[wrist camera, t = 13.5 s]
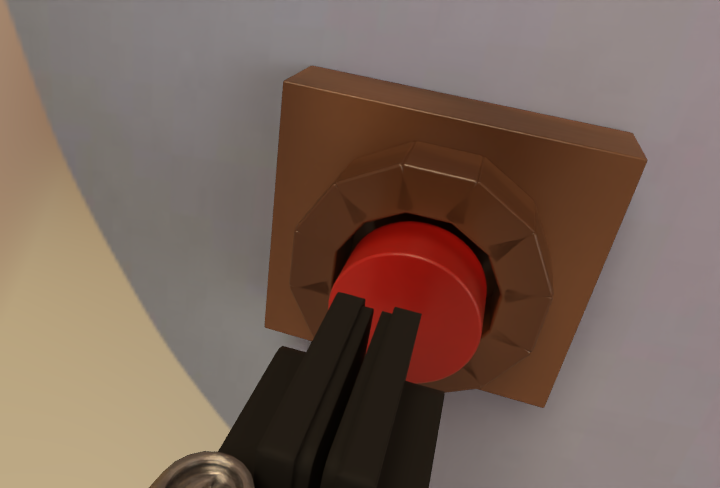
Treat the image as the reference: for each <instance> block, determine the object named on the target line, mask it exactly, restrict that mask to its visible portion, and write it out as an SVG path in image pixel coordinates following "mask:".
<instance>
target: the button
mask: <svg viewBox="0 0 720 488" xmlns="http://www.w3.org/2000/svg"><path fill="white" fill-rule="evenodd" d="M338 292H342V293H346V294H349V295H353V296H357V297H361V298H364V299H365V306H366V307H369V308H373V309H374V313H373V319H372V324H371V329H370V335H369V340H368V345H367V350H368V347H369V344H370V342H371V339H372V336H373V334H374V331H375V328H376V326H377V323H378V320H379V318H380V315H381V312H382V311H384V312H388V313H392V312H393V310H394V307H398V308H402V309H406V310H410V311H414V312H417V313H421V314H422V315H421V320H420V324H419V328H418V332H417V336H416V340H415V344H414V348H413V352H412V357H411V361H410V365H409V369H408V373H407V377H406V381H408V382H412V383H416V384H418V383H428V382H434V381H438V380H441V379H444V378H446V377H448V376H450V375H452V374H454V373H456V372H457V371H459V370H460V369H461V368H462V367H463V366H465V365H466V364H467V363H468V362H469V360H470V359H471V358H472V357H473V355H474V354H475V352H476V350H477V348H478V346H479V343H480V340H481V335H482V328H483V320H484V312H485V304H486V295H487V284H486V278H485V274H484V270H483V268H482V266H481V263H480V262H479V260H478V258H477V256H476V255H475V254H474V252H473V251H472V250H471V249H470V247H469V246H468V245H466V244H465V243H464V242H463V241H462V240H461V239H460V238H458V237H457V236H456V235H454V234H452V233H451V232H449V231H447V230H445V229H443V228H441V227H439V226H435V225H432V224H429V223H424V222H416V221H402V222H395V223H390V224H387V225H384V226H381V227H379V228H377V229H375V230H373V231H372V232H370V233H369V234H367V235H366V236H365V237H364V238H363V239H362V240H361V241H360V242H359V243H358V244H357V245H356V247H355V248H354V250H353V252H352V253H351V255H350V257H349V259H348V260H347V262H346V264H345V266H344V267H343V269H342V271H341V272H340V274H339V276H338V278H337V279H336V281H335V283H334V285H333V287H332V290H331V292H330V296H329V301H328V309H329V308H330V306H331V304H332V302H333V300H334V298H335V296H336V294H337V293H338ZM367 350H366V352H367Z"/></svg>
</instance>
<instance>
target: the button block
mask: <svg viewBox="0 0 720 488" xmlns="http://www.w3.org/2000/svg"><path fill="white" fill-rule="evenodd" d="M646 163H647V158H646V156H645V154H644V153H643V151H642V149H641V147H640V145H639V144H638V142H637V140H636V138H635V136H634V134H633V133H630V132H625V131H620V130H616V129H611V128H606V127H601V126H597V125H592V124H587V123H582V122H578V121H573V120H568V119H563V118H559V117H554V116H549V115H544V114H540V113H535V112H530V111H525V110H521V109H516V108H511V107H506V106H502V105H497V104H492V103H487V102H483V101H478V100H473V99H468V98H464V97H459V96H454V95H449V94H445V93H440V92H435V91H430V90H426V89H421V88H416V87H411V86H407V85H402V84H397V83H392V82H388V81H383V80H378V79H373V78H369V77H364V76H359V75H354V74H350V73H345V72H340V71H335V70H331V69H326V68H321V67H316V66H310V67H308V68H306V69H304V70H302V71H301V72H299V73H297V74H295V75H293V76H292V77H290V78H288V79H286V80H284V82H283V92H282V105H281V118H280V131H279V144H278V157H277V170H276V183H275V196H274V209H273V223H272V236H271V249H270V262H269V275H268V288H267V301H266V314H265V328H269V329H272V330H275V331H279V332H282V333H286V334H289V335H293V336H296V337H300V338H303V339H307V340H310V341H312V340H313V338H314V337H315V335H316V333H317V331H318V329H319V327H320V325H321V323H322V321H323V319H324V317H325V315H326V313H327V311H328V301H329V296H330V292H331V290H332V287H333V285H334V283H335V281H336V279H337V278H338V276H339V274H340V272H341V271H342V269H343V267H344V266H345V264H346V262H347V260H348V259H349V257H350V255H351V253H352V252H353V250H354V248H355V247H356V245H357V244H358V243H359V242H360V241H361V240H362V239H363V238H364V237H365V236H366V235H367V234H369V233H370V232H372V231H373V230H375V229H377V228H379V227H381V226H384V225H387V224H390V223H395V222H402V221H416V222H424V223H429V224H432V225H435V226H439V227H441V228H443V229H445V230H447V231H449V232H451V233H452V234H454V235H456V236H457V237H458V238H460V239H461V240H462V241H463V242H464V243H465V244H466V245H468V246H469V247H470V249H471V250H472V251H473V252H474V254H475V255H476V256H477V258H478V260H479V262H480V263H481V266H482V268H483V270H484V274H485V278H486V284H487V295H486V304H485V312H484V320H483V328H482V335H481V340H480V343H479V346H478V348H477V350H476V352H475V354H474V355H473V357H472V358H471V359H470V360H469V362H468V363H467V364H466V365H465V366H463V367H462V368H461V369H460V370H459V371H457V372H456V373H454V374H452V375H450V376H448V377H446V378H444V379H441V380H438V381H434V382H428V383H418V384H419V385H423V386H426V387H430V388H433V389H437V390H440V391H444V393H445V392H453V391H461V390H469V389H479V390H483V391H486V392H490V393H493V394H497V395H500V396H504V397H507V398H510V399H514V400H517V401H521V402H524V403H528V404H531V405H535V406H538V407H542V408H544V407H545V404H546V402H547V399H548V397H549V395H550V392H551V390H552V388H553V385H554V383H555V380H556V378H557V376H558V373H559V371H560V368H561V366H562V364H563V361H564V359H565V356H566V354H567V352H568V349H569V347H570V345H571V342H572V340H573V337H574V335H575V333H576V330H577V328H578V325H579V323H580V321H581V318H582V316H583V313H584V311H585V309H586V306H587V304H588V301H589V299H590V297H591V294H592V292H593V290H594V287H595V285H596V282H597V280H598V278H599V275H600V273H601V270H602V268H603V266H604V263H605V261H606V258H607V256H608V254H609V251H610V249H611V247H612V244H613V242H614V239H615V237H616V235H617V232H618V230H619V227H620V225H621V223H622V220H623V218H624V215H625V213H626V211H627V208H628V206H629V204H630V201H631V199H632V196H633V194H634V192H635V189H636V187H637V184H638V182H639V180H640V177H641V175H642V172H643V170H644V168H645V165H646ZM415 384H416V383H415Z"/></svg>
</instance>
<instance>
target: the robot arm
mask: <svg viewBox="0 0 720 488" xmlns="http://www.w3.org/2000/svg"><path fill="white" fill-rule="evenodd" d="M373 313H374V309H373V308H369V307H366V306H365V299H364V298H361V297H357V296H353V295H349V294H346V293H342V292H338V293H337V294H336V296H335V298H334V300H333V302H332V304H331V306H330V308H329V309H328V311H327V313H326V315H325V317H324V319H323V321H322V323H321V325H320V327H319V329H318V331H317V333H316V335H315V337H314V338H313V340H312V342H311V344H310V346H309V348H308V350H307V352H302V351H299V350H295V349H292V348H288V347H285V346H282V347H280V348H279V350H278V351H277V352H276V354H275V356H274V357H273V359H272V361H271V362H270V364H269V366H268V368H267V369H266V371H265V373H264V374H263V376H262V378H261V380H260V381H259V383H258V385H257V386H256V388H255V390H254V391H253V393H252V395H251V397H250V398H249V400H248V402H247V403H246V405H245V407H244V408H243V410H242V412H241V414H240V415H239V417H238V419H237V420H236V422H235V424H234V425H233V427H232V429H231V431H230V432H229V434H228V436H227V437H226V439H225V441H224V443H223V444H222V446H221V448H220V449H219V451H218V452H209V451H207V452H206V451H203V452H199V453H194V454H190V455H187V456H185V457H183V458H181V459H179V460H177V461H175V462H174V463H173V464H172V465H170V466H169V467H168V468H167V469H166V470H165V471H163V473H162V474H161V475H160V476H159V477H158V478H157V479H156V480H155V481H154V483H153V484H152V485H151V486H150V487H149V488H429V483H430V477H431V471H432V465H433V459H434V453H435V447H436V441H437V436H438V430H439V424H440V418H441V412H442V406H443V400H444V391H440V390H437V389H433V388H430V387H426V386H423V385H419V384H415V383H412V382H408V381H406V377H407V373H408V369H409V365H410V361H411V357H412V352H413V348H414V344H415V340H416V336H417V332H418V328H419V324H420V320H421V315H422V314H421V313H417V312H414V311H410V310H406V309H402V308H398V307H394V310H393V312H392V313H388V312H384V311H382V312H381V315H380V318H379V320H378V323H377V326H376V328H375V331H374V334H373V336H372V339H371V342H370V344H369V347H368V350H367V345H368V340H369V335H370V329H371V324H372V319H373ZM366 350H367V352H366Z"/></svg>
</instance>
